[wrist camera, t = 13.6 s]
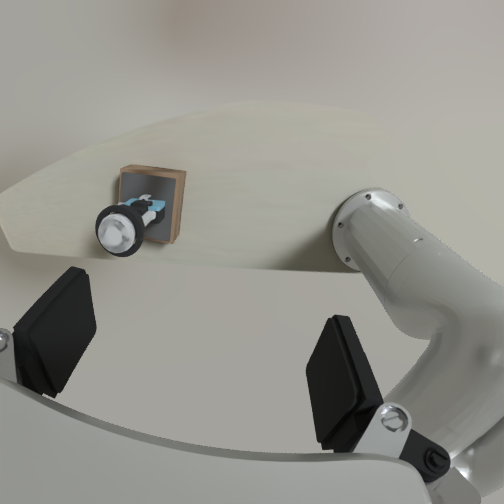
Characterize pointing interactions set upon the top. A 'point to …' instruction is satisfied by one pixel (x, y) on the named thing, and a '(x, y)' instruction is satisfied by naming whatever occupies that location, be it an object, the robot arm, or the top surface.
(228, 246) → the top surface
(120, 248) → the push button
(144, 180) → the stand
